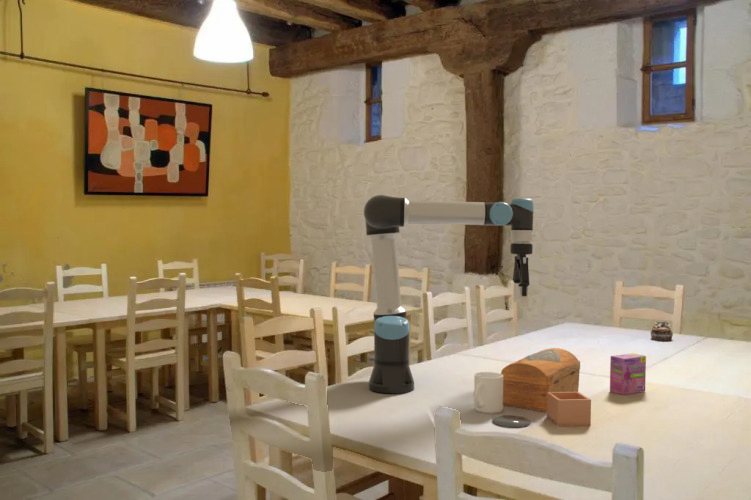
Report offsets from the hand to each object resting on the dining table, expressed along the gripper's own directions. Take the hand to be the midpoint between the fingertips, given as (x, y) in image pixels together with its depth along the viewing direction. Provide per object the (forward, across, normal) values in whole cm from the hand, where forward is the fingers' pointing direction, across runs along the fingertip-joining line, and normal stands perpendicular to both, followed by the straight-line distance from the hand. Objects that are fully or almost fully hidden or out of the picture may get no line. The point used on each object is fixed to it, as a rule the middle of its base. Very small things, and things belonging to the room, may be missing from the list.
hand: (520, 303), depth 240 cm
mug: (+27, -44, +16) cm, 54 cm away
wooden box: (+27, -27, -2) cm, 38 cm away
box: (+26, -16, -33) cm, 45 cm away
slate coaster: (+27, -55, +10) cm, 62 cm away
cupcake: (+26, +80, -78) cm, 115 cm away
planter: (+26, -52, -5) cm, 59 cm away
